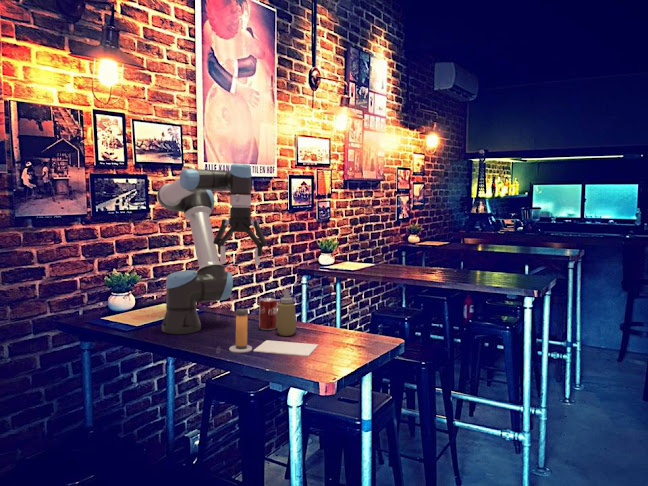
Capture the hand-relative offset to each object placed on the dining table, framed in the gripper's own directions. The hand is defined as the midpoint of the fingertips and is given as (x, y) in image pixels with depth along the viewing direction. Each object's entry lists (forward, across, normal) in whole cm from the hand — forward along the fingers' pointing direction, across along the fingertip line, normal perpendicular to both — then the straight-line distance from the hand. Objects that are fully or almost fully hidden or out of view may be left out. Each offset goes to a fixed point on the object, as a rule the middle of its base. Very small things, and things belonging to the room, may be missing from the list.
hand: (240, 264), depth 198 cm
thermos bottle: (+28, +5, -11) cm, 31 cm away
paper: (+29, +20, -5) cm, 35 cm away
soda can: (+29, +4, +21) cm, 36 cm away
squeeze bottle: (+29, +14, +14) cm, 35 cm away
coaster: (+29, +5, -11) cm, 31 cm away
